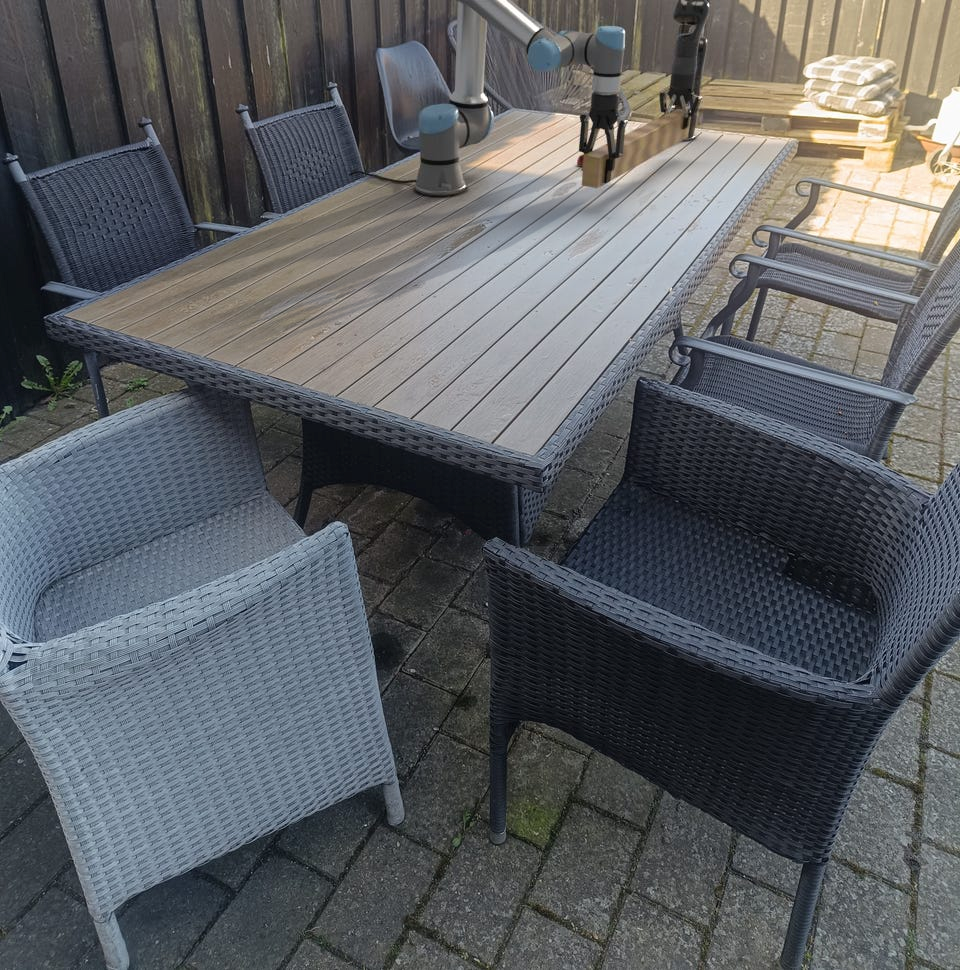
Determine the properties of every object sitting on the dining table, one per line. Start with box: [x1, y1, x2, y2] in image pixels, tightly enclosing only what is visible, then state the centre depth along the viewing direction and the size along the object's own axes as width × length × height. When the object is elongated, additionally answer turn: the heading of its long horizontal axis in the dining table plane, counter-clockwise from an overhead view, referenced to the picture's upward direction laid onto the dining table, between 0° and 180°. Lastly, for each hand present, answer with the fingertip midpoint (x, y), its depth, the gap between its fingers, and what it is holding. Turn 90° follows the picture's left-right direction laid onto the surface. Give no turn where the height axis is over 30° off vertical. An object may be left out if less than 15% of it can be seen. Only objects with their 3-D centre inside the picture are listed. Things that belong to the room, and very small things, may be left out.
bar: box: [581, 109, 691, 189], centre depth 257 cm, size 68×5×8 cm, turn 147°
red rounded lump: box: [576, 153, 585, 170], centre depth 277 cm, size 6×4×8 cm
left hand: (598, 180), depth 240 cm, fingers closed on bar, 5 cm apart
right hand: (676, 127), depth 277 cm, fingers closed on bar, 5 cm apart
